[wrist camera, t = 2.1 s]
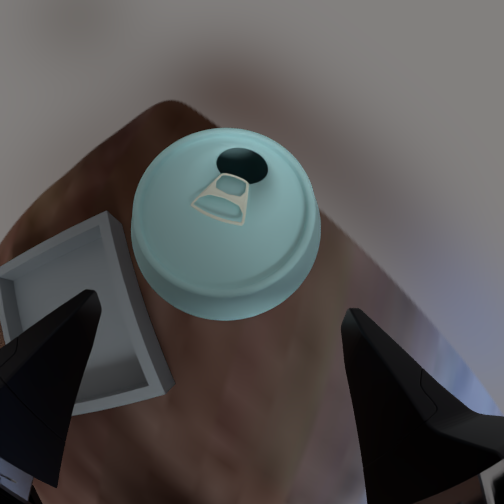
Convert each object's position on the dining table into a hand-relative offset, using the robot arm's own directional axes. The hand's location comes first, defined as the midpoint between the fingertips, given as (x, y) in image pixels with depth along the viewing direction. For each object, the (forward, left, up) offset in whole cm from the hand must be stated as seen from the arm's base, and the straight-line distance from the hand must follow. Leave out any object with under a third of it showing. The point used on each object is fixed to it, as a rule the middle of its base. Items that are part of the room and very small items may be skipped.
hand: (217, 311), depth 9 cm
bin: (+3, +12, -10) cm, 16 cm away
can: (+3, -1, -10) cm, 11 cm away
